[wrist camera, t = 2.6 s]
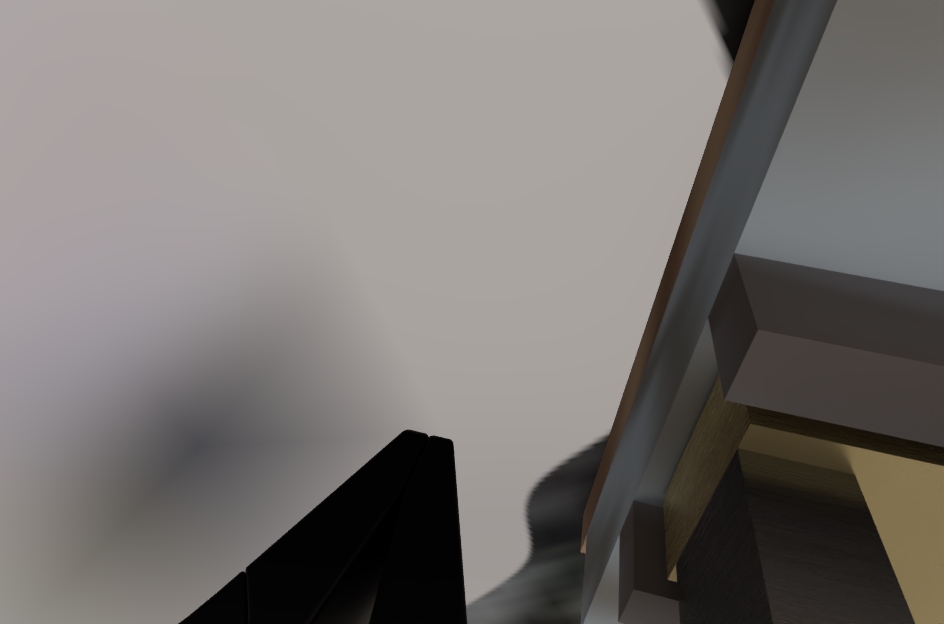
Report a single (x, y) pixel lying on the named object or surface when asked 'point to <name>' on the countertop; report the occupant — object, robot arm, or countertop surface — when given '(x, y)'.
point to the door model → (789, 269)
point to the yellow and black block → (803, 522)
